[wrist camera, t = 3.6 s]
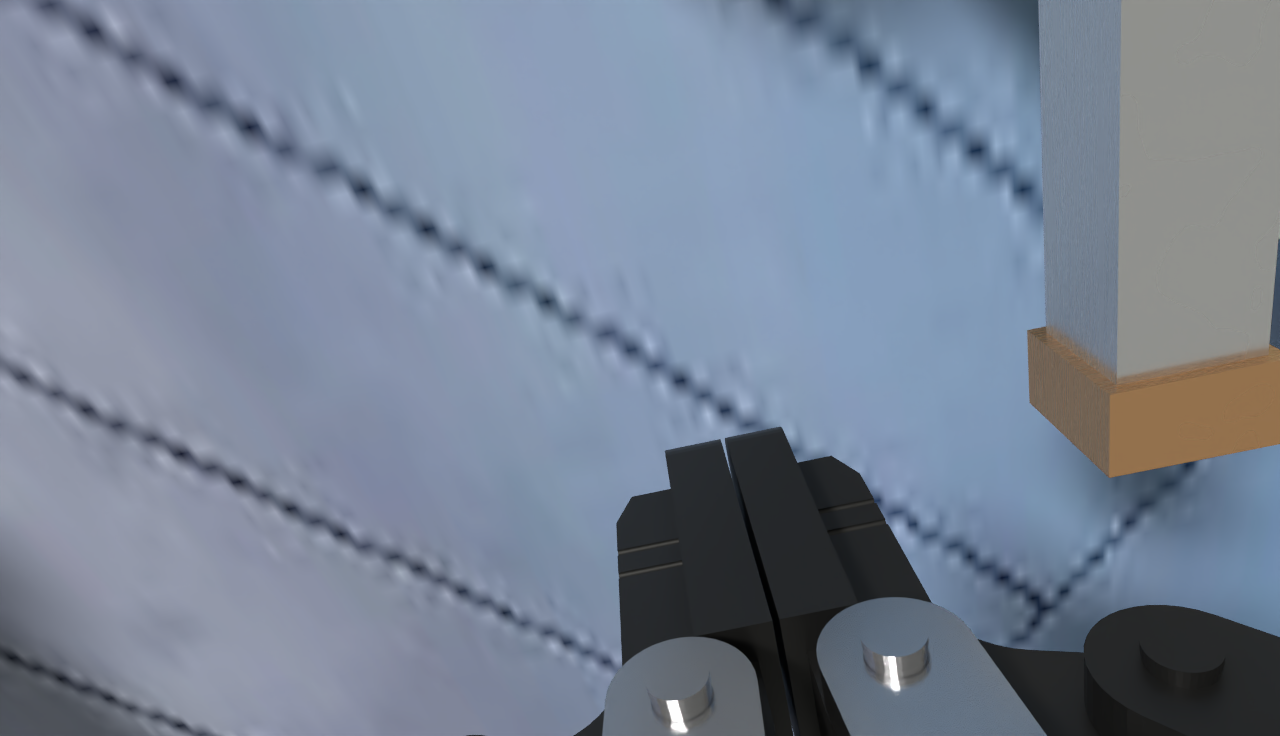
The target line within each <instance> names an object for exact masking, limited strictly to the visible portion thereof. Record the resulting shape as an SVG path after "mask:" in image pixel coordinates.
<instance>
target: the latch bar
mask: <svg viewBox="0 0 1280 736" xmlns="http://www.w3.org/2000/svg"><path fill="white" fill-rule="evenodd" d="M1038 8H1039V50H1040V93H1041V135H1042V178H1043V220H1044V263H1045V305H1046V327H1041V328H1036V329H1032V330H1027V335H1028V366H1029V396H1030V403H1031V404H1032V405H1033V406H1034V407H1035V408H1036V409H1037V410H1038V411H1039V412H1040V413H1041V414H1042V415H1043V416H1044V417H1045V418H1046V419H1047V420H1049V421H1050V422H1051V423H1052V424H1053V425H1054V426H1055V427H1056V428H1057V429H1058V430H1059V431H1060V432H1061V433H1062V434H1063V435H1064V436H1065V437H1067V438H1068V439H1069V440H1070V441H1071V442H1072V443H1073V444H1074V445H1075V446H1076V447H1077V448H1078V449H1079V450H1080V451H1081V452H1082V453H1083V454H1084V455H1086V456H1087V457H1088V458H1089V459H1090V460H1091V461H1092V462H1093V463H1094V464H1095V465H1096V466H1097V467H1098V468H1099V469H1100V470H1101V471H1102V472H1104V473H1105V474H1106V475H1107V476H1108V477H1109V478H1111V477H1116V476H1121V475H1126V474H1131V473H1136V472H1141V471H1146V470H1151V469H1156V468H1161V467H1166V466H1172V465H1177V464H1182V463H1187V462H1192V461H1197V460H1202V459H1207V458H1212V457H1217V456H1222V455H1227V454H1232V453H1237V452H1242V451H1247V450H1252V449H1257V448H1262V447H1267V446H1272V445H1277V444H1280V350H1279V349H1278V348H1276V347H1274V346H1272V345H1270V344H1269V342H1270V330H1271V319H1272V307H1273V296H1274V284H1275V272H1276V261H1277V249H1278V238H1279V226H1280V0H1038Z"/></svg>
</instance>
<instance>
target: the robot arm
mask: <svg viewBox="0 0 1280 736" xmlns="http://www.w3.org/2000/svg"><path fill="white" fill-rule="evenodd" d="M725 444H726V450H727V456H728V461H729V466H730V471H731V474H730V471H729V467H728V464H727V460H726V457H725V453H724V450H723V446H722V443H721V440H720V439H719V440H714V441H709V442H705V443H700V444H695V445H690V446H685V447H680V448H675V449H671V450H666V451H665V454H666V461H667V467H668V474H669V480H670V487H671V489H668V490H663V491H658V492H654V493H649V494H644V495H639V496H634V497H632V498H631V499H630V501H629V503H628V504H627V506H626V508H625V510H624V511H623V513H622V515H621V516H620V518H619V520H618V522H617V523H616V524H617V548H618V555H619V556H618V572H619V578H620V579H619V596H620V620H621V644H622V667H621V668H620V670H619V671H618V672H617V673H616V675H615V676H614V678H613V679H612V681H611V683H610V685H609V688H608V690H607V694H606V699H605V709H604V711H603V712H602V713H601V714H600V715H599V716H598V717H597V718H596V719H595V720H594V721H593V722H592V723H591V724H590V725H588V726H587V727H586V728H584V729H583V730H581V731H580V732H579V733H577V734H576V735H574V736H793V732H794V736H1280V637H1277V636H1274V635H1271V634H1269V633H1266V632H1263V631H1260V630H1257V629H1254V628H1251V627H1248V626H1245V625H1243V624H1240V623H1237V622H1234V621H1231V620H1228V619H1225V618H1222V617H1219V616H1216V615H1213V614H1210V613H1207V612H1203V611H1200V610H1196V609H1190V608H1185V607H1179V606H1169V605H1146V606H1137V607H1132V608H1127V609H1123V610H1120V611H1117V612H1115V613H1112V614H1110V615H1108V616H1106V617H1105V618H1103V619H1101V620H1100V621H1099V622H1098V623H1097V624H1096V625H1095V626H1093V627H1092V629H1091V630H1090V632H1089V633H1088V635H1087V637H1086V640H1085V644H1084V653H1081V652H1060V651H1039V650H1024V649H1013V648H1008V647H1003V646H998V645H994V644H991V643H988V642H985V641H982V640H979V639H977V638H976V637H975V635H974V634H973V633H972V631H971V630H970V629H969V627H968V626H967V625H966V624H965V623H964V622H963V621H962V620H961V619H960V618H958V617H957V616H956V615H955V614H953V613H951V612H950V611H948V610H946V609H944V608H943V607H940V606H938V605H935V604H933V603H932V602H931V601H930V599H929V597H928V595H927V593H926V592H925V590H924V588H923V586H922V584H921V583H920V581H919V579H918V577H917V575H916V574H915V572H914V570H913V568H912V566H911V565H910V563H909V561H908V559H907V558H906V556H905V554H904V552H903V550H902V549H901V547H900V545H899V543H898V541H897V540H896V538H895V536H894V534H893V532H892V531H891V529H890V527H889V525H888V524H886V522H885V518H884V516H883V514H882V513H881V511H880V509H879V507H878V505H877V504H876V503H874V499H873V496H872V495H871V493H870V491H869V489H868V488H867V486H866V484H865V482H864V480H863V479H862V477H861V475H860V473H858V472H856V471H855V470H853V469H852V468H850V467H848V466H847V465H845V464H844V463H842V462H840V461H839V460H837V459H836V458H834V457H832V456H828V457H823V458H818V459H814V460H809V461H804V462H799V463H797V461H796V459H795V456H794V454H793V452H792V450H791V447H790V445H789V443H788V440H787V438H786V436H785V433H784V431H783V429H782V428H781V427H776V428H771V429H767V430H762V431H757V432H752V433H747V434H742V435H737V436H733V437H728V438H725ZM731 477H732V478H731ZM792 729H793V731H792ZM468 736H483V735H468Z"/></svg>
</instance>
